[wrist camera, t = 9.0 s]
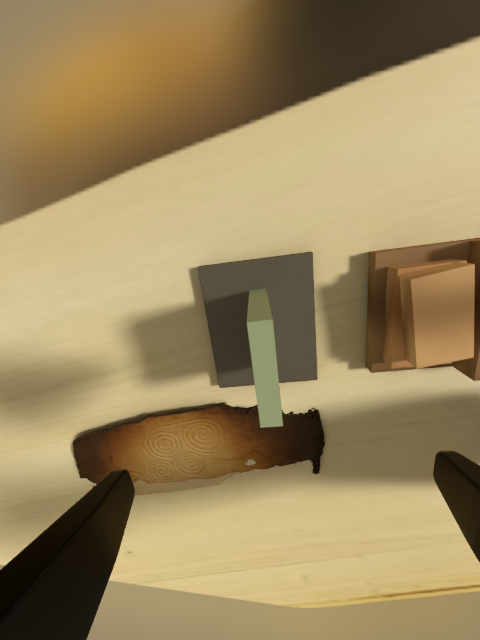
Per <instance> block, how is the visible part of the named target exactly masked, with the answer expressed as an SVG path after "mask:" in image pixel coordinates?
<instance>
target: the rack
mask: <svg viewBox="0 0 480 640" xmlns="http://www.w3.org/2000/svg"><path fill="white" fill-rule="evenodd" d="M447 259H457V260H465V261H467V263H471V264H475V296H474V358H469V359H464V360H459V361H454V362H452V363H450V364H439V365H434V366H429V367H424V368H434V367H446V366H453V367H454V368H456V369H457V370H459V371H460V372H462V373H463V374H465V375H466V376H468V377H469V378H471V379H472V380H474V381H476V380H480V238H475V239H467V240H459V241H451V242H443V243H435V244H427V245H419V246H411V247H403V248H396V249H388V250H380V251H372V252H369V280H368V313H367V346H366V367H367V368H368V369H369V370H370V372H371V373H374V372H386V371H398V370H410V369H416V368H415V367H403V368H390V367H389V366H388V365H387V364H386V363H385V362H384V361H383V348H384V329H385V310H386V292H387V273H388V266H397V265H405V264H413V263H422V262H430V261H438V260H447ZM419 369H422V368H419Z"/></svg>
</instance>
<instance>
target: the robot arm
mask: <svg viewBox="0 0 480 640" xmlns="http://www.w3.org/2000/svg"><path fill="white" fill-rule="evenodd" d="M433 475H434V480H435V482H436V484H437V486H438V488H439V490H440V492H441V494H442V496H443V497H444V499H445V501H446V503H447V505H448V507H449V509H450V510H451V512H452V514H453V516H454V518H455V520H456V522H457V524H458V525H459V527H460V529H461V531H462V533H463V535H464V537H465V538H466V540H467V542H468V544H469V546H470V547H471V549H472V551H473V552H474V554H475V556H476V557H477V559H478V560H479V562H480V466H479V465H478V464H476V463H474V462H473V461H471V460H469V459H468V458H466V457H464V456H462V455H461V454H459V453H457V452H455V451H439V452H438V453H437V454H436V458H435V464H434V471H433ZM134 495H135V488H134V485H133V482H132V479H131V476H130V474H129V471H128V470H127V469H118V470H113V471H112V472H111V473H109V474H108V475H107V476H106V477H105V478H104V479H103V480H101V481H100V482H99V483H98V484H97V485H96V486H95V487H94V488H92V489H91V490H90V491H89V492H88V493H87V494H86V495H85V496H83V497H82V498H81V499H80V500H79V501H78V502H77V503H75V504H74V505H73V506H72V507H71V508H70V509H69V510H68V511H66V512H65V513H64V514H63V515H62V516H61V517H60V518H59V519H57V520H56V521H55V522H54V523H53V524H52V525H51V526H49V527H48V528H47V529H46V530H45V531H44V532H43V533H42V534H40V535H39V536H38V537H37V538H36V539H35V540H34V541H33V542H31V543H30V544H29V545H28V546H27V547H26V548H25V549H23V550H22V551H21V552H20V553H19V554H18V555H17V556H16V557H14V558H13V559H12V560H11V561H10V562H9V563H8V564H7V565H5V566H4V567H3V568H2V569H1V570H0V640H86V639H87V637H88V634H89V631H90V629H91V626H92V623H93V621H94V618H95V615H96V612H97V610H98V607H99V604H100V602H101V599H102V596H103V594H104V591H105V588H106V586H107V583H108V580H109V578H110V575H111V572H112V570H113V567H114V564H115V561H116V558H117V555H118V552H119V549H120V545H121V542H122V538H123V535H124V531H125V528H126V524H127V521H128V517H129V514H130V510H131V506H132V503H133V499H134Z"/></svg>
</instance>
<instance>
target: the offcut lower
mask: <svg viewBox="0 0 480 640" xmlns="http://www.w3.org/2000/svg"><path fill="white" fill-rule="evenodd" d="M455 262H463V263H467V261H465V260H457V259H447V260H438V261H430V262H422V263H413V264H405V265H397V266H388V273H387V292H386V310H385V329H384V348H383V361H384V362H385V363H386V364H387V365H388V366H389V367H390V368H403V367H414V366H413V365H412V364H410V363H409V362H408V361H407V360H406V355H405V342H404V330H403V318H402V305H401V293H400V281H399V276H402V275H406V274H410V273H414V272H418V271H422V270H426V269H431V268H435V267H439V266H443V265H447V264H451V263H455ZM450 363H452V362H449V363H444V364H450Z"/></svg>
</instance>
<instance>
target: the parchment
mask: <svg viewBox="0 0 480 640" xmlns="http://www.w3.org/2000/svg"><path fill="white" fill-rule="evenodd" d="M254 408H255V409H254ZM312 409H313V408H312ZM315 410H316V409H315ZM282 411H283V410H282ZM289 414H290V415H289ZM289 414H284V413H283V412H282V420H283V426H278V427H263V428H261V427H260V420H259V412H258V406H255V407H251V408H248V409H246V408H238V407H231V406H229V405H226V403H225V404H224V403H222V404H221V405H220V404H219V405H214V406H211V407H208V408H206V409H199V410H198V409H194V410H188V411H184V412H176V413H168V414H163V415H158V416H157V415H156V416H150V415H148V416H146V417H145V418H143V419H142V420H140V421H134V422H131V423H124V424H121V425H119V426H116V427H113V428H111V429H105V430H101V431H98V432H92V433H89V434H86V435H84V436H81V437H80V438H77V439H76V440H74V442H73V447H74V454H75V455H74V456H75V459H76V462H77V467H78V469H79V474H80V478H87V479H88V480H90V481H91V482H93V483H96V484H98V483H99V482H100V481H101V480H103V479H104V478H105V477H106V476H107V475H108V474H109V473H111V472H112V471H113V470H118V469H127V470H128V471H129V474H130V476H131V479H132V482H133V485H134V488H135V495H142V494H151V493H161V492H169V491H176V490H184V489H191V488H198V487H205V486H212V485H218V484H220V483H221V482H222V481H224V480H225V479H226V478H228V477H230V476H232V475H233V474H235V473H236V472H240V473H241V472H247V471H250V470H253V469H255V468H257V469H268V468H271V467H274V466H275V465H277V466H284V465H288V464H293V463H297V462H302V461H303V460H304V461H305V460H311V462H313V467H314V469H313V473H314V474H317V473H319V470H320V468H319V466H320V457H321V455H322V454H323V447H324V445H325V443H324V433H323V429H322V423H321V419H320V415H319V411H318V410H317V411H315V412H314V411H312V410H311V409H310V410H309V411H308V413H305V415H304V414H303V413H299V415H298V414H293V412H290V413H289ZM248 459H253V460H254V461H256V462H257V463H256V464H255V465H250V466H248V465H244V464H245V463H246V462H247V460H248ZM93 488H94V486H93Z"/></svg>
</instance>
